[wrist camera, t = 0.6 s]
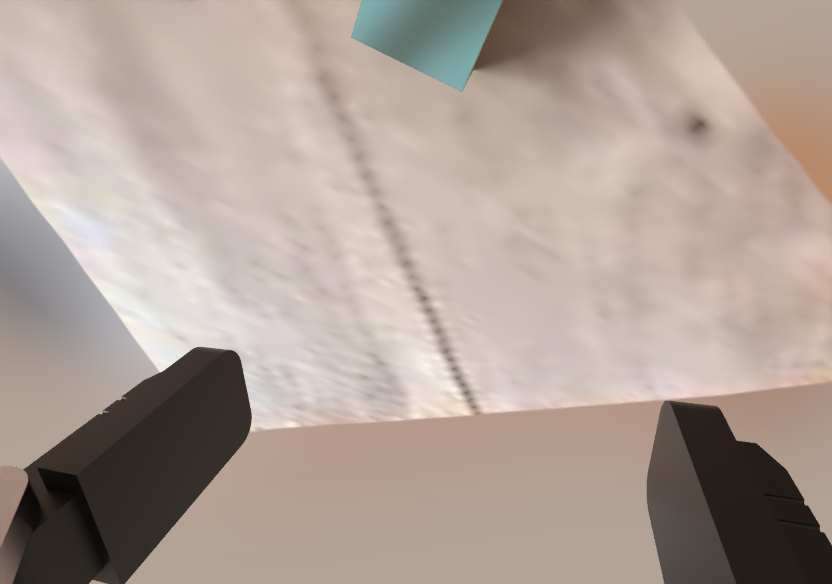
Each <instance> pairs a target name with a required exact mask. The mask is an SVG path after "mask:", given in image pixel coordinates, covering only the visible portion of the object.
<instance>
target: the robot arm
mask: <svg viewBox="0 0 832 584" xmlns="http://www.w3.org/2000/svg"><path fill="white" fill-rule="evenodd" d="M251 419H252V414H251V408H250V403H249V398H248V393H247V389H246V384H245V379H244V374H243V369H242V364H241V360H240V357H239V355H238V354H237V353H236V352H235V351H232V350H224V349H215V348H206V347H196V348H194V349H192V350H191V351H190V352H188V353H187V354H186V355H184V356H183V357H182V358H180V359H179V360H178V361H176V362H175V363H174V364H172V365H171V366H170V367H168V368H167V369H166V370H164V371H163V372H161V373H158V374H156V375H154V376H152V377H150V378H148V379H146V380H144V381H142V382H141V383H140V384H138V385H137V386H136V387H134V388H133V389H131V390H130V391H129V392H127V393H126V394H125V395H123V396H122V399H121V400H117V401H115V402H114V403H113V404H111V405H110V406H109V407H107V408H106V409H105V410H104V411H103V414H102V415H101V414H98V415H96V416H95V417H94V418H93V419H91V420H90V421H88V422H87V423H86V424H84V425H83V426H82V427H80V428H79V429H78V430H76V431H75V432H74V433H72V434H71V435H70V436H68V437H67V438H65V439H64V440H63V441H61V442H60V443H59V444H57V445H56V446H55V447H53V448H52V449H51V450H49V451H48V452H47V453H45V454H44V455H43V456H41V457H40V458H39V459H37V460H36V461H34V462H33V463H32V464H31V465H29V466H28V467H26V468H25V469H21V468H18V467H13V466H2V467H0V584H89V583H90V581H92V580H96V581H100V582H103V583H107V584H125V583H126V582H127V580H128V579H129V578H130V577H131V576H132V574H133V573H134V572H135V571H136V570H137V569H138V567H139V566H140V565H141V564H142V563H143V562H144V560H145V559H146V558H147V557H148V556H149V554H150V553H151V552H152V551H153V550H154V548H155V547H156V546H157V545H158V544H159V542H160V541H161V540H162V539H163V538H164V537H165V535H166V534H167V533H168V532H169V531H170V529H171V528H172V527H173V526H174V525H175V524H176V522H177V521H178V520H179V519H180V517H181V516H182V515H183V514H184V513H185V512H186V511H187V509H188V508H189V507H190V506H191V505H192V503H193V502H194V501H195V500H196V499H197V498H198V496H199V495H200V494H201V493H202V491H203V490H204V489H205V488H206V487H207V486H208V485H209V483H210V482H211V481H212V480H213V478H214V477H215V476H216V475H217V474H218V473H219V471H220V470H221V469H222V468H223V467H224V465H225V464H226V463H227V462H228V461H229V460H230V458H231V457H232V456H233V455H234V454H235V453H236V451H237V450H238V449H239V448H240V447H241V445H242V444H243V443H244V441H245V440H246V438H247V435H248V433H249V430H250V426H251ZM647 504H648V511H649V516H650V520H651V525H652V529H653V534H654V538H655V543H656V547H657V552H658V556H659V560H660V565H661V570H662V574H663V579H664V583H665V584H832V545H831V543H830V542H829V540H828V538H827V537H826V535H825V533H823V532H820V525H819V523H818V522H817V520H816V518H815V517H814V515H813V513H812V512H811V510H810V508H809V507H808V506H806V505H805V504H804V498H803V497H802V495H801V493H800V492H799V490H798V488H797V487H796V485H795V483H794V482H793V480H792V478H791V477H790V475H789V473H788V472H787V470H786V469H785V468H784V467H783V466H781V465H780V464H779V463H778V462H777V461H776V460H775V459H773V458H772V457H771V456H770V455H769V454H768V453H767V452H766V451H764V450H763V449H762V448H761V447H760V446H759V445H757V444H756V443H750V442H742V441H736V439H735V437H734V435H733V433H732V431H731V429H730V427H729V425H728V423H727V421H726V419H725V418H724V415H723V413H722V412H721V410H720V409H719V408H718V407H717V406H710V405H701V404H693V403H684V402H675V401H665V402H664V403H663V405H662V408H661V411H660V416H659V421H658V425H657V430H656V435H655V440H654V445H653V450H652V455H651V460H650V465H649V470H648V476H647Z"/></svg>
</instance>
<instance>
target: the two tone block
mask: <svg viewBox="0 0 832 584" xmlns="http://www.w3.org/2000/svg"><path fill="white" fill-rule="evenodd" d="M503 3H504V0H362V1H361V4H360V8H359V11H358V15H357V18H356V22H355V25H354V29H353V32H352V36H351V38H353V39H355V40H357V41H359V42H361V43H363V44H365V45H367V46H369V47H371V48H374V49H376V50H378V51H380V52H382V53H384V54H386V55H388V56H390V57H392V58H394V59H396V60H398V61H400V62H402V63H404V64H406V65H408V66H410V67H412V68H414V69H416V70H418V71H420V72H422V73H424V74H426V75H428V76H431V77H433V78H435V79H437V80H439V81H441V82H443V83H445V84H447V85H449V86H451V87H453V88H455V89H457V90H459V91H461V92H462V90H463V89H464V87H465V85H466V83H467V81H468V79H469V77H470V75H471V73H472V72H473V70H474V67H475V65H476V63H477V61H478V58H479V56H480V54H481V52H482V50H483V47H484V45H485V43H486V41H487V38H488V36H489V34H490V32H491V29H492V27H493V25H494V23H495V20H496V18H497V16H498V14H499V12H500V9H501V7H502V5H503Z"/></svg>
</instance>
